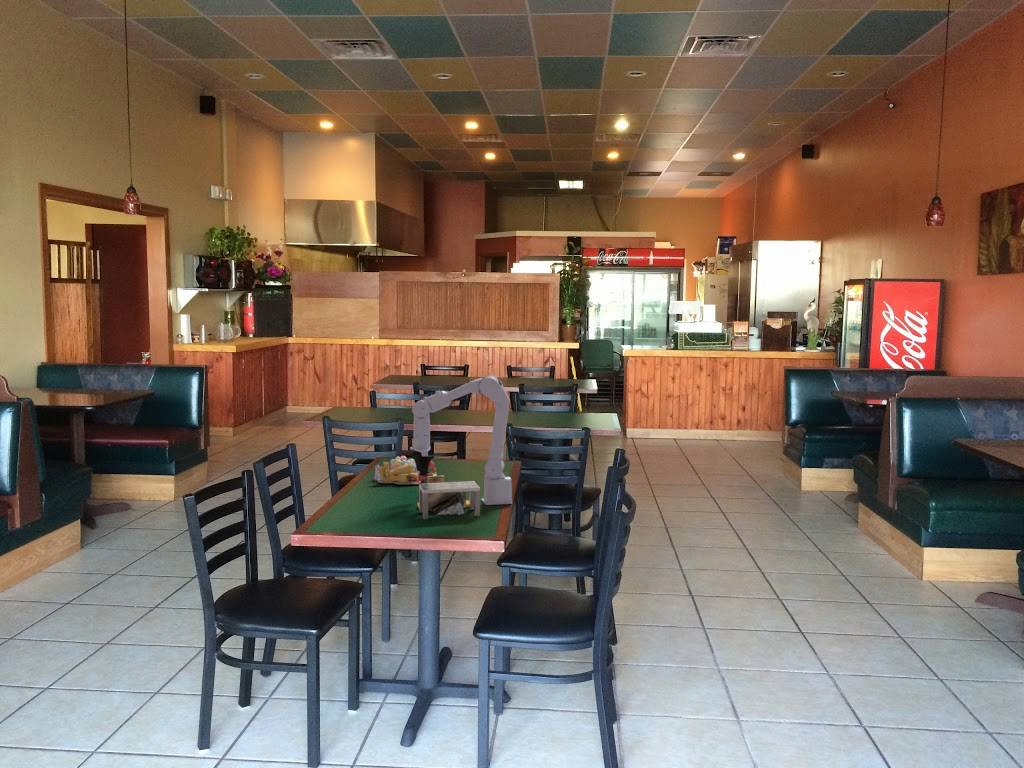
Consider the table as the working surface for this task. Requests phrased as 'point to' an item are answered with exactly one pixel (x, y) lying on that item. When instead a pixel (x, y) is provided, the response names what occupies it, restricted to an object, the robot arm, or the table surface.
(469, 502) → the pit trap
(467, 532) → the table surface
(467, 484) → the tunnel
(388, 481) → the candy landscape model
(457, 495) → the chocolate cake
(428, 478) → the sled
